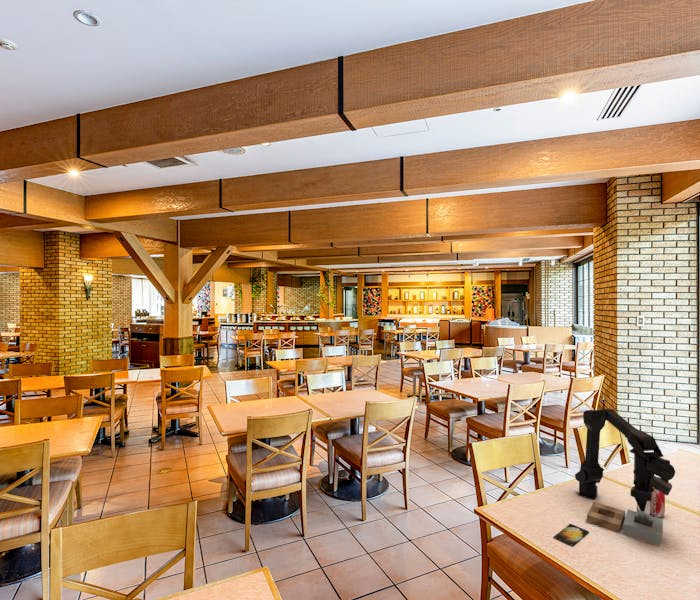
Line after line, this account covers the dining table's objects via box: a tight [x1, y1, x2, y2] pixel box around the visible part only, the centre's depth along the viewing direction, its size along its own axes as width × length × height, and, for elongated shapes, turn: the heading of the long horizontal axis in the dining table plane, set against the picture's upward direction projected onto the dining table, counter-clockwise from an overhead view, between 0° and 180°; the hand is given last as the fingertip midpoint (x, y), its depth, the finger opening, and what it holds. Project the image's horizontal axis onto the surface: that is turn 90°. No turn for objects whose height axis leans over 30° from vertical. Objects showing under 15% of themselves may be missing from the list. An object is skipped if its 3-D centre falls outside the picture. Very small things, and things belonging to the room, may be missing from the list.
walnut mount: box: [586, 501, 626, 534], centre depth 158 cm, size 11×14×3 cm
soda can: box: [650, 487, 666, 518], centre depth 163 cm, size 7×7×12 cm
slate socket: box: [622, 509, 664, 547], centre depth 150 cm, size 11×14×4 cm
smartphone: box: [552, 523, 590, 548], centre depth 147 cm, size 7×1×15 cm
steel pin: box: [636, 501, 650, 524], centre depth 150 cm, size 4×4×9 cm
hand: (643, 509), depth 150 cm, fingers closed on steel pin, 4 cm apart
